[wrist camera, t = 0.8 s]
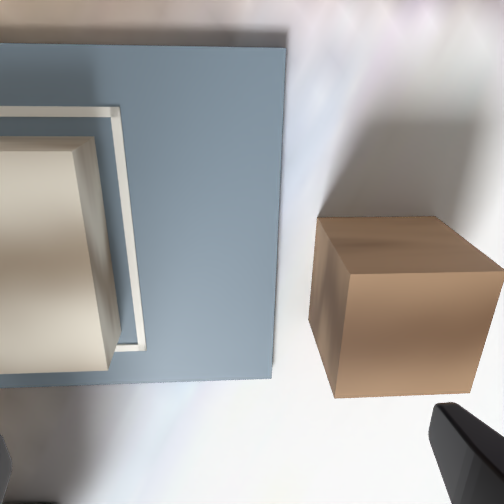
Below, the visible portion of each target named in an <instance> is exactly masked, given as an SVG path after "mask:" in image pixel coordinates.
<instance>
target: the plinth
mask: <svg viewBox="0 0 504 504" xmlns="http://www.w3.org/2000/svg"><path fill="white" fill-rule="evenodd" d="M120 334H121V325H120V318H119V311H118V304H117V297H116V289H115V282H114V275H113V268H112V261H111V254H110V246H109V239H108V232H107V225H106V218H105V210H104V203H103V196H102V189H101V182H100V174H99V167H98V160H97V153H96V146H95V138H94V136H0V374H20V373H50V372H80V371H108V369H109V366H110V363H111V360H112V357H113V354H114V351H115V349H116V346H117V343H118V340H119V337H120Z"/></svg>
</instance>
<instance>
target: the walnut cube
mask: <svg viewBox="0 0 504 504" xmlns="http://www.w3.org/2000/svg"><path fill="white" fill-rule="evenodd" d="M503 282H504V269H503V268H502V267H500V266H499V265H498V264H497V263H495V262H494V261H493V260H491V259H490V258H489V257H487V256H486V255H485V254H484V253H482V252H481V251H480V250H478V249H477V248H476V247H474V246H473V245H472V244H471V243H469V242H468V241H467V240H465V239H464V238H463V237H461V236H460V235H459V234H458V233H456V232H455V231H454V230H452V229H451V228H450V227H448V226H447V225H446V224H445V223H443V222H442V221H441V220H439V219H438V218H437V217H435V216H417V217H318V218H317V224H316V236H315V248H314V260H313V272H312V283H311V295H310V307H309V319H308V320H309V323H310V326H311V329H312V332H313V335H314V338H315V341H316V344H317V347H318V350H319V353H320V356H321V359H322V362H323V365H324V368H325V371H326V374H327V377H328V380H329V383H330V386H331V389H332V392H333V395H334V398H359V397H384V396H409V395H434V394H460V393H470V391H471V388H472V384H473V381H474V378H475V374H476V371H477V368H478V364H479V361H480V358H481V355H482V351H483V348H484V345H485V341H486V338H487V335H488V331H489V328H490V325H491V321H492V318H493V315H494V312H495V308H496V305H497V302H498V298H499V295H500V292H501V288H502V285H503Z"/></svg>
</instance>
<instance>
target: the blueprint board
mask: <svg viewBox="0 0 504 504" xmlns="http://www.w3.org/2000/svg"><path fill="white" fill-rule="evenodd" d="M285 60H286V48H265V47H206V46H148V45H90V44H31V43H0V136H94V138H95V146H96V153H97V160H98V167H99V174H100V182H101V189H102V196H103V203H104V210H105V218H106V225H107V232H108V239H109V246H110V254H111V261H112V268H113V275H114V282H115V289H116V297H117V304H118V311H119V318H120V325H121V334H120V337H119V340H118V343H117V346H116V349H115V351H114V354H113V357H112V360H111V363H110V366H109V369H108V371H80V372H50V373H20V374H0V388H22V387H50V386H78V385H106V384H134V383H162V382H190V381H218V380H246V379H271V378H272V355H273V333H274V310H275V287H276V265H277V242H278V219H279V197H280V174H281V151H282V128H283V106H284V83H285Z"/></svg>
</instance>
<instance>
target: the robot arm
mask: <svg viewBox="0 0 504 504" xmlns="http://www.w3.org/2000/svg"><path fill="white" fill-rule="evenodd" d="M429 440H430V444H431V447H432V450H433V452H434V455H435V458H436V461H437V464H438V467H439V469H440V472H441V475H442V478H443V481H444V483H445V486H446V489H447V492H448V495H449V498H450V500H451V503H452V504H504V437H503V436H502V435H500V434H499V433H498V432H496V431H495V430H493V429H492V428H491V427H489V426H488V425H486V424H485V423H484V422H482V421H481V420H479V419H478V418H477V417H475V416H474V415H472V414H471V413H470V412H468V411H467V410H465V409H464V408H463V407H461V406H460V405H458V404H456V403H453V402H449V403H438V404H436V405H435V406H434V408H433V412H432V417H431V422H430V426H429ZM11 471H12V460H11V457H10V455H9V452H8V449H7V447H6V444H5V441H4V439H3V437H2V436H1V435H0V504H2V502H3V499H4V495H5V492H6V489H7V485H8V482H9V479H10V475H11Z"/></svg>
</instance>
